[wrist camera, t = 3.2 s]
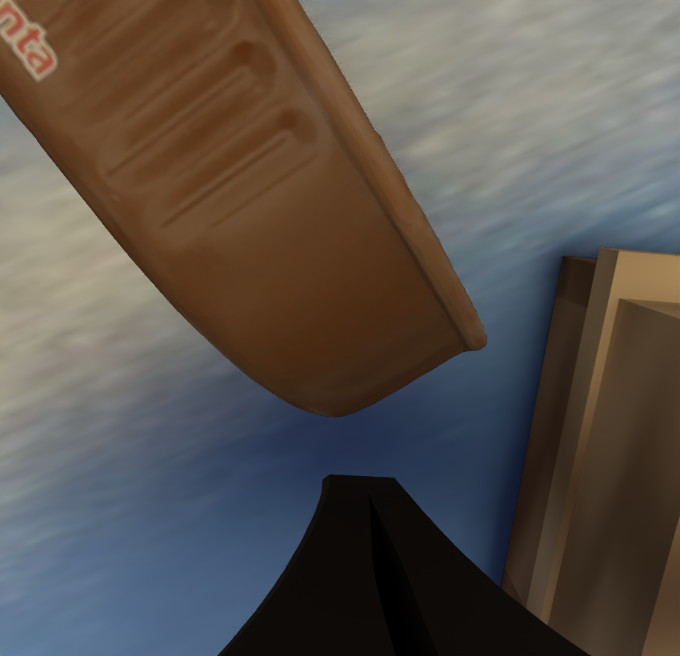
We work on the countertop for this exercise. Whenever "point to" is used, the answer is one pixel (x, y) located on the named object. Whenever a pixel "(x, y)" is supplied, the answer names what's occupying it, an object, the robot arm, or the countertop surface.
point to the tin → (243, 187)
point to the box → (547, 423)
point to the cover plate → (619, 470)
